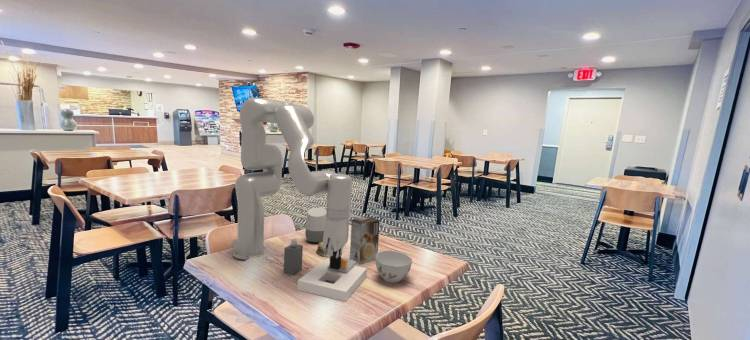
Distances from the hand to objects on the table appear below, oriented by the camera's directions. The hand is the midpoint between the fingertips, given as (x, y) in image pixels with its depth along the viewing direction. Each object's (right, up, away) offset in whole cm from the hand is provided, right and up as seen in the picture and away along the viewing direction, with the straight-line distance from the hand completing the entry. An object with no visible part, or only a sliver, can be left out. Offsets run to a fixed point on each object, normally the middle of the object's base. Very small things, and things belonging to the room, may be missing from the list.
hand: (335, 268), depth 106 cm
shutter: (+2, -1, +6) cm, 6 cm away
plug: (-15, -3, +6) cm, 17 cm away
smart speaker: (-13, +1, +38) cm, 40 cm away
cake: (-6, -2, +25) cm, 26 cm away
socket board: (0, -5, 0) cm, 5 cm away
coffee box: (+8, -3, +20) cm, 22 cm away
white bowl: (+19, -6, +6) cm, 21 cm away
